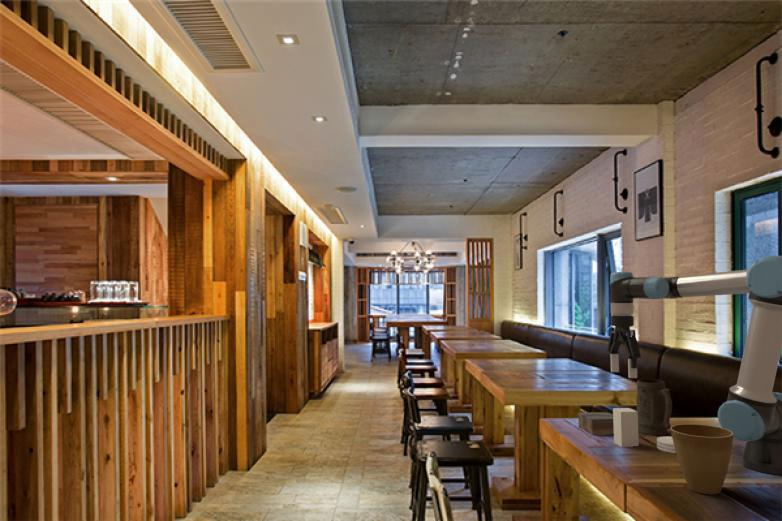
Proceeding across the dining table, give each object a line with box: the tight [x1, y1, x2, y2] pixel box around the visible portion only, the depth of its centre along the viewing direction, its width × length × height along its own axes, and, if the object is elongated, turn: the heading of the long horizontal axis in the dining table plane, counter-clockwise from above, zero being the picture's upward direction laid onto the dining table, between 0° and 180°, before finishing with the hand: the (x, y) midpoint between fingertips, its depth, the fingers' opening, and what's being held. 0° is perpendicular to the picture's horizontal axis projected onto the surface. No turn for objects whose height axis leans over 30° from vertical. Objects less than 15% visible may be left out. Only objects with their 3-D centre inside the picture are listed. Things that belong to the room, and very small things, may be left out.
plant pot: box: [669, 423, 734, 495], centre depth 146 cm, size 15×15×16 cm
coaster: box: [656, 435, 676, 454], centre depth 183 cm, size 10×10×4 cm
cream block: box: [612, 407, 640, 448], centre depth 190 cm, size 6×6×12 cm
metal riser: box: [577, 411, 614, 436], centre depth 208 cm, size 12×12×6 cm
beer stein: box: [635, 378, 673, 436], centre depth 205 cm, size 15×11×20 cm
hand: (623, 374), depth 191 cm, fingers open, 13 cm apart
